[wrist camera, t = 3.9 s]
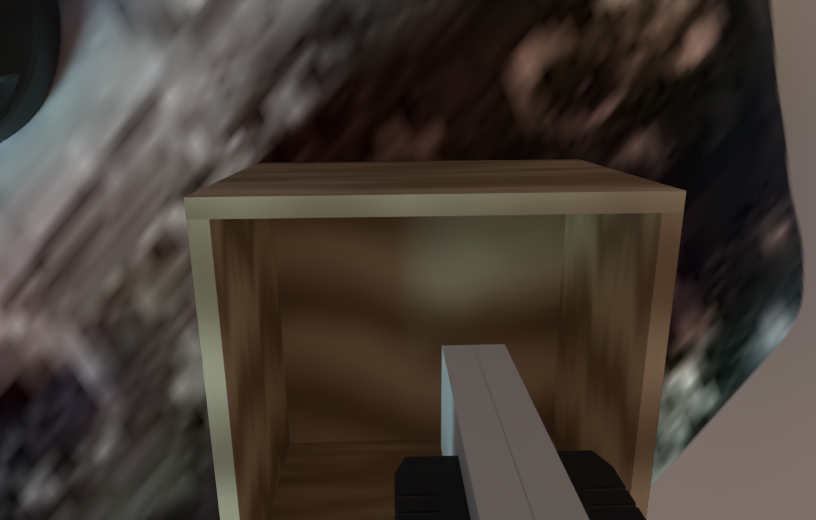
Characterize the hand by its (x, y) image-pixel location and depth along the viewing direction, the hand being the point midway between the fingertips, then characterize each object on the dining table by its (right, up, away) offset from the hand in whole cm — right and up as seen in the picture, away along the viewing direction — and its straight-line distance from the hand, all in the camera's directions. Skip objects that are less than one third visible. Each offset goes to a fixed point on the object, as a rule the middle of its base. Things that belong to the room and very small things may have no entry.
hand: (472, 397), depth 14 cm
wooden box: (-1, 0, +21) cm, 21 cm away
